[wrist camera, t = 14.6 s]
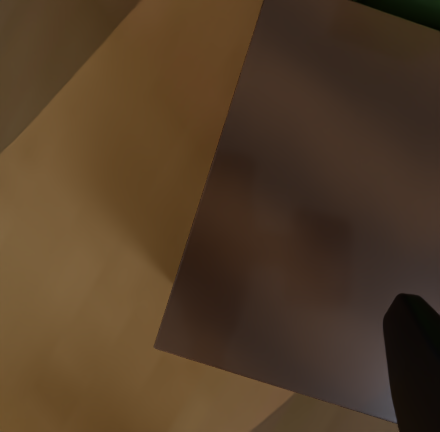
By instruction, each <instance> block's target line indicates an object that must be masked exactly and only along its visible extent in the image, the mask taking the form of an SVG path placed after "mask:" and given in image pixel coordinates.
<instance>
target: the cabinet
mask: <svg viewBox="0 0 440 432" xmlns="http://www.w3.org/2000/svg"><path fill="white" fill-rule="evenodd" d="M400 293H406V294H415V295H419V296H421V297H422V298H423V299H424V300H425V301H426V302H427V303H428V304H429V305H430V306H431V307H432V308H433V309H434V310H435V311H436V312H437V313H438V314H439V315H440V31H438V30H436V29H433V28H430V27H427V26H424V25H421V24H418V23H415V22H412V21H409V20H406V19H404V18H401V17H398V16H395V15H392V14H389V13H386V12H383V11H380V10H377V9H375V8H372V7H369V6H366V5H363V4H360V3H357V2H354V1H351V0H264V1H263V4H262V7H261V10H260V13H259V17H258V20H257V23H256V26H255V29H254V32H253V36H252V39H251V42H250V45H249V48H248V51H247V54H246V58H245V61H244V64H243V67H242V70H241V73H240V76H239V80H238V83H237V86H236V89H235V92H234V95H233V98H232V102H231V105H230V108H229V111H228V114H227V117H226V121H225V124H224V127H223V130H222V133H221V136H220V139H219V143H218V146H217V149H216V152H215V155H214V158H213V161H212V165H211V168H210V171H209V174H208V177H207V180H206V184H205V187H204V190H203V193H202V196H201V199H200V202H199V206H198V209H197V212H196V215H195V218H194V221H193V224H192V228H191V231H190V234H189V237H188V240H187V243H186V247H185V250H184V253H183V256H182V259H181V262H180V265H179V269H178V272H177V275H176V278H175V281H174V284H173V287H172V291H171V294H170V297H169V300H168V303H167V306H166V309H165V313H164V316H163V319H162V322H161V325H160V328H159V332H158V335H157V338H156V341H155V344H154V348H155V349H158V350H161V351H164V352H168V353H171V354H174V355H177V356H180V357H184V358H187V359H190V360H193V361H197V362H200V363H203V364H206V365H209V366H213V367H216V368H219V369H222V370H225V371H229V372H232V373H235V374H238V375H242V376H245V377H248V378H251V379H254V380H258V381H261V382H264V383H267V384H271V385H274V386H277V387H280V388H283V389H287V390H290V391H293V392H296V393H300V394H303V395H306V396H309V397H312V398H316V399H319V400H322V401H325V402H328V403H332V404H335V405H338V406H341V407H345V408H348V409H351V410H354V411H357V412H361V413H364V414H367V415H370V416H374V417H377V418H380V419H383V420H386V421H390V422H393V423H396V424H397V419H396V415H395V411H394V406H393V402H392V397H391V391H390V384H389V376H388V367H387V359H386V351H385V343H384V335H383V318H384V315H385V314H386V312H387V310H388V309H389V307H390V305H391V304H392V302H393V300H394V299H395V297H396V296H397V295H398V294H400Z"/></svg>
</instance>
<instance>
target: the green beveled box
mask: <svg viewBox="0 0 440 432" xmlns="http://www.w3.org/2000/svg"><path fill="white" fill-rule="evenodd" d="M353 1H354V2H357V3H360V4H363V5H366V6H369V7H372V8H375V9H377V10H380V11H383V12H386V13H389V14H392V15H395V16H398V17H401V18H404V19H406V20H409V21H412V22H415V23H418V24H421V25H424V26H427V27H430V28H433V29H436V30H438V31H440V0H353Z"/></svg>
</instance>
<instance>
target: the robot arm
mask: <svg viewBox="0 0 440 432" xmlns="http://www.w3.org/2000/svg"><path fill="white" fill-rule="evenodd" d="M383 335H384V343H385V351H386V359H387V367H388V376H389V384H390V391H391V397H392V402H393V406H394V411H395V415H396V419H397V424H398V428H399V432H440V315H439V314H438V313H437V312H436V311H435V310H434V309H433V308H432V307H431V306H430V305H429V304H428V303H427V302H426V301H425V300H424V299H423V298H422V297H421V296H419V295H415V294H406V293H400V294H398V295H397V296H396V297H395V299H394V300H393V302H392V304H391V305H390V307H389V309H388V310H387V312H386V314H385V315H384V318H383Z"/></svg>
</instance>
